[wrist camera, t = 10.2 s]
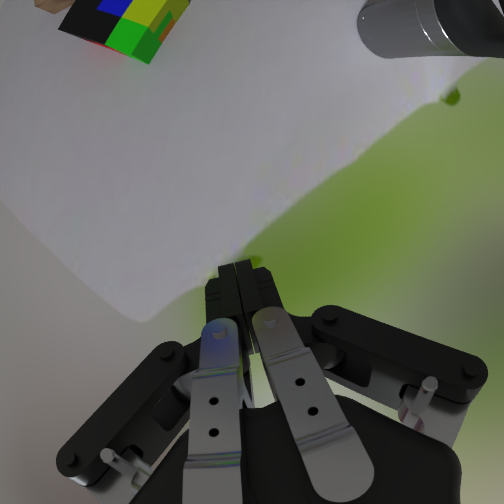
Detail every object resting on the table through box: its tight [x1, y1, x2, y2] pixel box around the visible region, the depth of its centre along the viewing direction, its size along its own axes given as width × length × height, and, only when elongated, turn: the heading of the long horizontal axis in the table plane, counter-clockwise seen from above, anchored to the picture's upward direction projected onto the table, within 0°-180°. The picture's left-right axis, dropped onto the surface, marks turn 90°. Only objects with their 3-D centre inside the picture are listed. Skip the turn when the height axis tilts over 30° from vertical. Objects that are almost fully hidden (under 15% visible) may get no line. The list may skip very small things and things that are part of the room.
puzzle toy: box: [58, 0, 189, 64], centre depth 23 cm, size 10×10×10 cm
